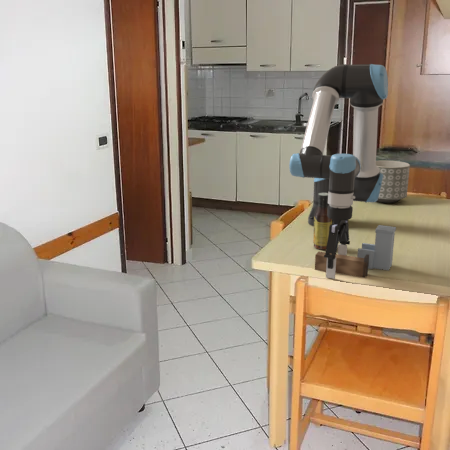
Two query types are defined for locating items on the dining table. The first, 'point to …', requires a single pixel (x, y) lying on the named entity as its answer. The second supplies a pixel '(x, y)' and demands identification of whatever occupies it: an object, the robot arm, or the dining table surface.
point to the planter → (393, 180)
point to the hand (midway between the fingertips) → (336, 270)
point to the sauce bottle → (321, 222)
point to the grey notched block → (380, 248)
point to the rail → (344, 264)
